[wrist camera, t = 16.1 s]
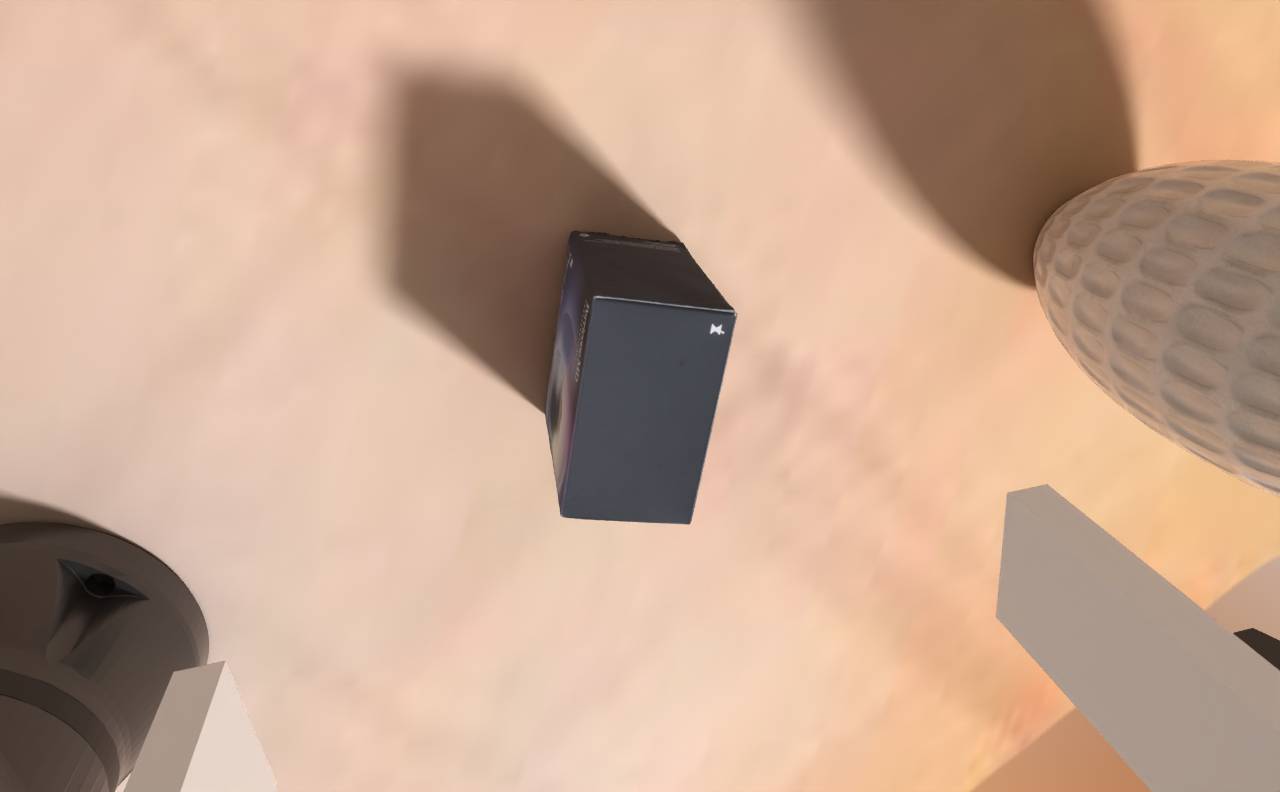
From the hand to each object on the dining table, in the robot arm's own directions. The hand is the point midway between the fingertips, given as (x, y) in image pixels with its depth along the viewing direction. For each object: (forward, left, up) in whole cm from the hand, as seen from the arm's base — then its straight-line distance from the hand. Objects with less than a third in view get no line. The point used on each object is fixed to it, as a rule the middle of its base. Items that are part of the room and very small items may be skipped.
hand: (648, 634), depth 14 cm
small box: (+3, -7, -31) cm, 32 cm away
